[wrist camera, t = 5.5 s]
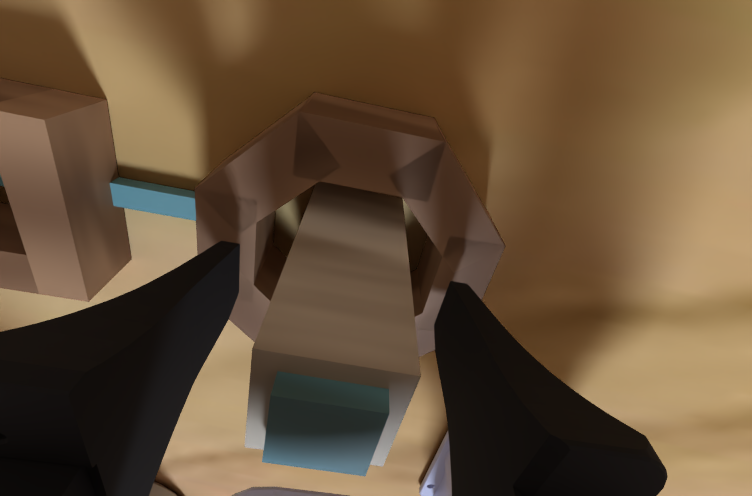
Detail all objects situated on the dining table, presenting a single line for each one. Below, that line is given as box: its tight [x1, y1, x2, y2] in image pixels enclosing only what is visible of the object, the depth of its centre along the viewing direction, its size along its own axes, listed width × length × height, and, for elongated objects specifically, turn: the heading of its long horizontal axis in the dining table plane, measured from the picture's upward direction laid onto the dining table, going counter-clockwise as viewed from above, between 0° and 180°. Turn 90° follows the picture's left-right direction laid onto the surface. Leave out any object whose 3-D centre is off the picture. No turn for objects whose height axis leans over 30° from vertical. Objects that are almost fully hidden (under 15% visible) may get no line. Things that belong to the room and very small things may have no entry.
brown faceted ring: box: [194, 92, 505, 357], centre depth 15 cm, size 10×10×3 cm
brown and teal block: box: [245, 181, 421, 476], centre depth 12 cm, size 4×4×10 cm
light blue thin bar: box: [0, 175, 196, 221], centre depth 15 cm, size 1×11×1 cm, turn 79°
